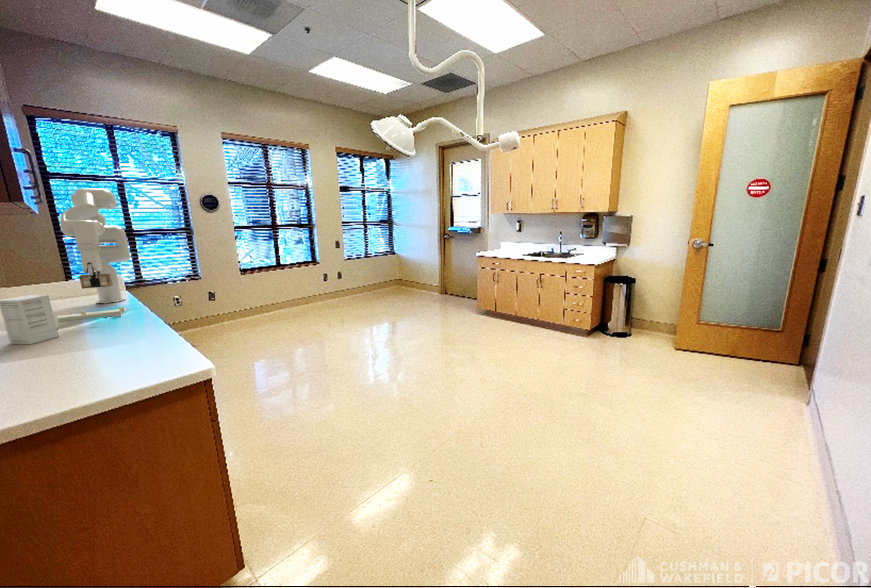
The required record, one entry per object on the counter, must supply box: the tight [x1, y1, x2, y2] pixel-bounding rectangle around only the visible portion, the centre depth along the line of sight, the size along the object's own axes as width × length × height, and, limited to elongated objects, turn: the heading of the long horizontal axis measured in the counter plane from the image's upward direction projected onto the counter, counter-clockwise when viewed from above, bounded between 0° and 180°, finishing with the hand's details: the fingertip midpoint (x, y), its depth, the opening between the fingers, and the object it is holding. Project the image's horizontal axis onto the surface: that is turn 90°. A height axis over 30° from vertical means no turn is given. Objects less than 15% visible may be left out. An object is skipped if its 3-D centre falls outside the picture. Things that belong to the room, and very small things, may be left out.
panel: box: [58, 306, 127, 323], centre depth 164 cm, size 14×27×3 cm, turn 123°
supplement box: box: [0, 294, 60, 345], centre depth 132 cm, size 10×9×17 cm
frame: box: [78, 273, 113, 290], centre depth 164 cm, size 4×10×6 cm, turn 123°
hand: (97, 285), depth 165 cm, fingers closed on frame, 4 cm apart
